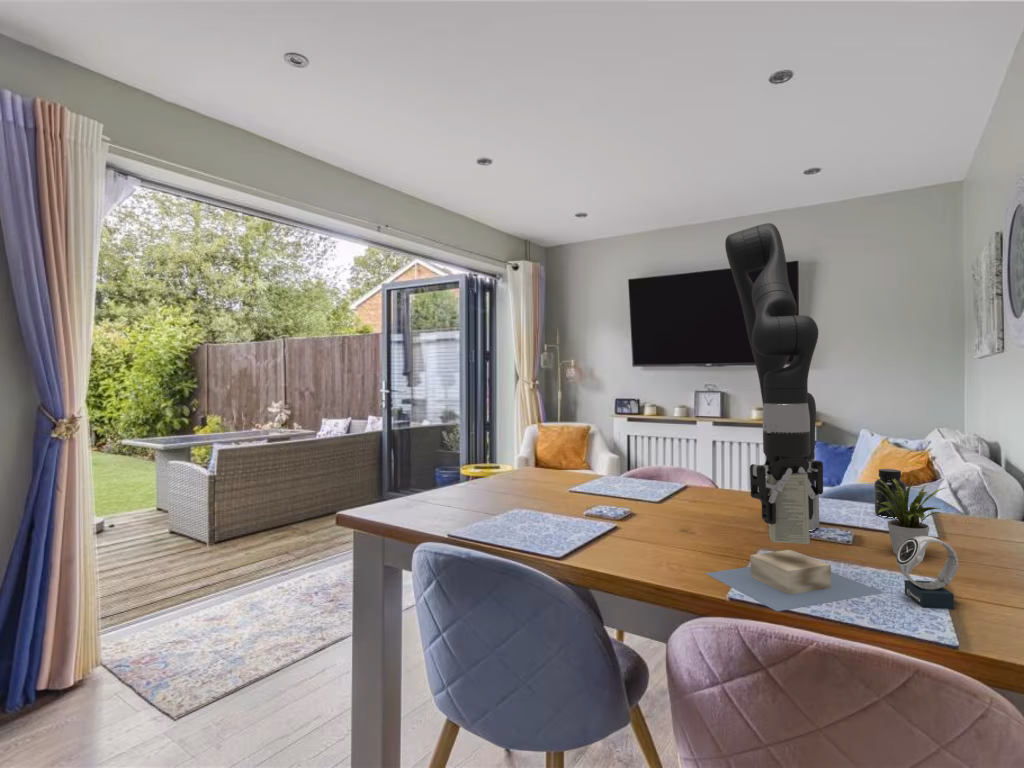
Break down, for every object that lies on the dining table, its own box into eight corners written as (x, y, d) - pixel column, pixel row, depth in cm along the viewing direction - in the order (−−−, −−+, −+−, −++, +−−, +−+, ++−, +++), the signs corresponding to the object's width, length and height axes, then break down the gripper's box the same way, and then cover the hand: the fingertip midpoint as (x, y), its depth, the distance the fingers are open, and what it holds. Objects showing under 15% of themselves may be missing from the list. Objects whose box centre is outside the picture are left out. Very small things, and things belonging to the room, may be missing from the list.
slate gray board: (799, 563, 109) (799, 559, 109) (884, 597, 92) (884, 592, 92) (705, 577, 103) (705, 573, 103) (777, 616, 86) (777, 611, 86)
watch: (891, 598, 92) (890, 532, 92) (946, 600, 90) (945, 533, 90) (908, 612, 86) (907, 542, 86) (967, 615, 85) (966, 543, 85)
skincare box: (806, 538, 99) (804, 470, 99) (810, 545, 94) (809, 474, 94) (767, 535, 101) (766, 469, 101) (770, 542, 97) (768, 473, 96)
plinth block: (790, 570, 103) (790, 549, 103) (831, 587, 95) (830, 564, 94) (750, 576, 101) (750, 555, 101) (788, 594, 92) (788, 571, 92)
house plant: (845, 548, 118) (843, 472, 118) (886, 539, 124) (885, 467, 124) (916, 568, 105) (914, 483, 105) (959, 557, 110) (957, 476, 110)
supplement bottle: (870, 512, 148) (869, 468, 148) (898, 513, 146) (898, 468, 146) (882, 518, 141) (881, 472, 141) (912, 519, 140) (911, 472, 140)
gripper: (801, 425, 103) (803, 512, 103) (737, 428, 99) (739, 520, 99) (835, 428, 96) (837, 522, 96) (768, 432, 92) (770, 530, 92)
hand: (787, 521), depth 98 cm, fingers closed on skincare box, 7 cm apart
